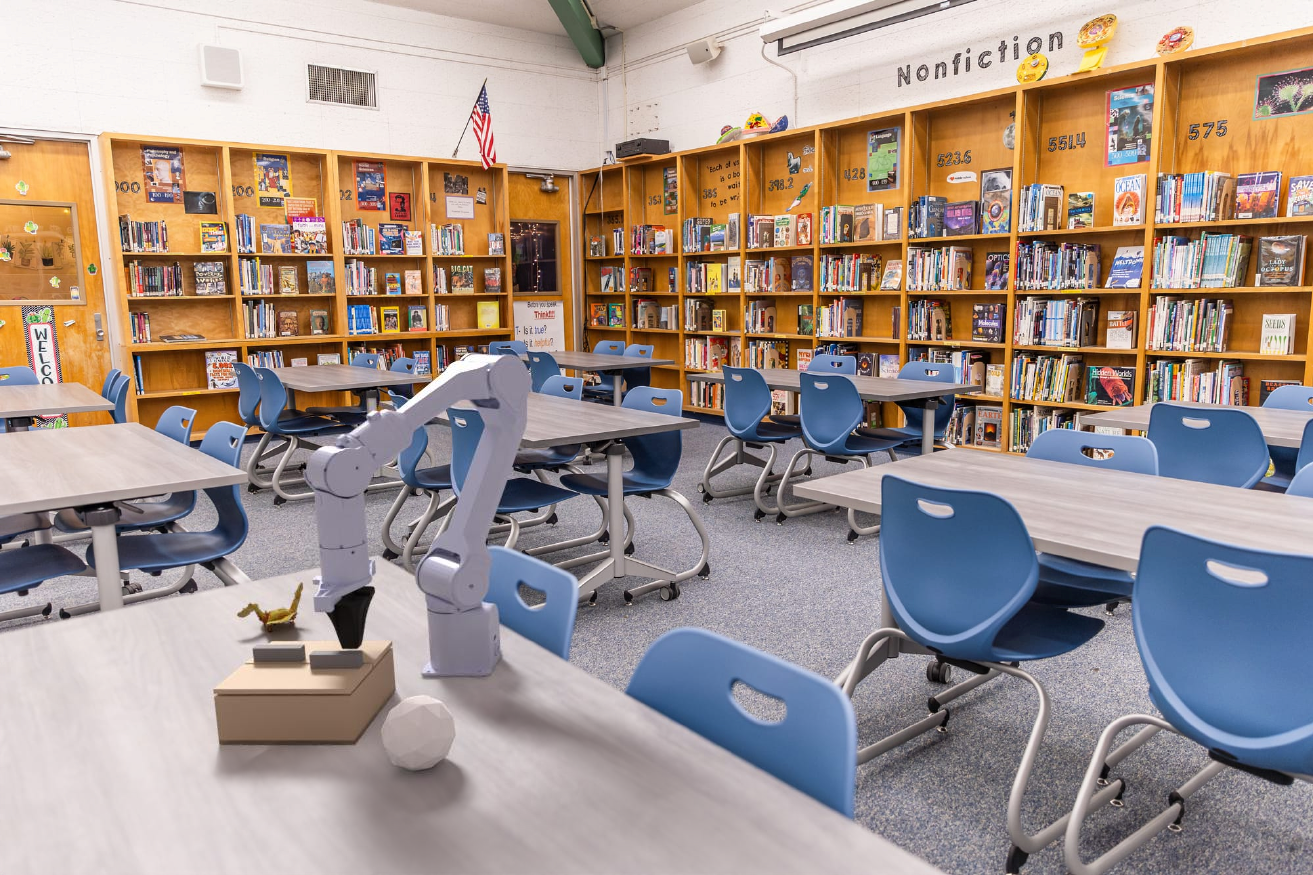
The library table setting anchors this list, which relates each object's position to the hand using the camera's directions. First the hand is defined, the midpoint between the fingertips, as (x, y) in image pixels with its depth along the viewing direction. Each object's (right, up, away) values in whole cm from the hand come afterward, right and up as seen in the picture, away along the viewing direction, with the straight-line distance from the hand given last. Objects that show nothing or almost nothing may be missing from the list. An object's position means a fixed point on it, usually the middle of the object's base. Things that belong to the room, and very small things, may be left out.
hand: (351, 646), depth 110 cm
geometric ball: (+13, -10, -14) cm, 21 cm away
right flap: (-4, -1, 0) cm, 4 cm away
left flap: (-4, -2, -7) cm, 8 cm away
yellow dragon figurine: (-21, -4, +27) cm, 35 cm away
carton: (-4, -8, -2) cm, 9 cm away
